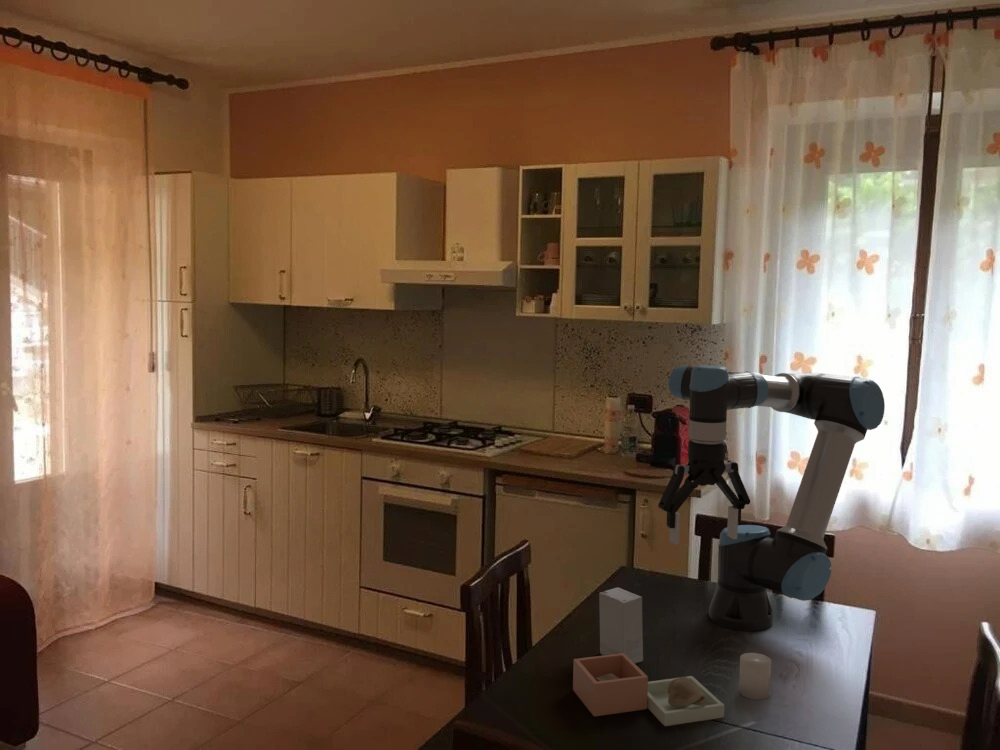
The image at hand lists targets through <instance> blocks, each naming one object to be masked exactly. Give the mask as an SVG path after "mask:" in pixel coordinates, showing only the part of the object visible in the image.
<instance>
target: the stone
mask: <svg viewBox="0 0 1000 750" xmlns="http://www.w3.org/2000/svg"><path fill="white" fill-rule="evenodd" d="M687 677H688V676H681V678H680V677H677V678H678V679H674V680H672V681H671V682H670V683H669V686H668V693H669V698H668V703H669V705H670V706H673V707H687V706H690V705H701V704H704V703H705V702H706V696H705V695H704V693H703V691H702V690H701V689H700V688H699V686H698V685H697V684H696V683H695V682H694V681H692V680H691V679H689V678H687Z"/></svg>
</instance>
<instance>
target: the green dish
mask: <svg viewBox="0 0 1000 750" xmlns="http://www.w3.org/2000/svg"><path fill="white" fill-rule="evenodd" d="M681 677H682V676H681ZM681 677H674V678H665V679H660V680H651V681H648V696H647V709H648V710H649V711H650V712H651V713H652V715H654V717H655V718H656V719H657V720H658V721H659V722H660V723H661V724H662V725H663V726H664V727H669V726H677V725H682V724H687V723H688V724H689V723H690V724H691V723H697V722H702V721H710V720H716V719H722V718H723V719H724V718H725V704H724V703H723V702H722V701H720V700H719V698H717V697H716V695H714V694H712V692H710V690H708V689H707V688H706V687H705V686H704V685H703V684H701V682H699V681H698V680H697V679H696V678H695V677H694V676H693V675H689V676H686V677H687V678H689V679H691V680H692V681H694V682H695V683H696V684H697V685H698V686H699V688H700V689H701V690H702V691H703V693H704V695H705V696H706V702H705V703H704V704H701V705H690V706H687V707H673V706H670V705H669V703H668V698H669V693H668V686H669V683H670V682H671V681H672V680H674V679H678V678H681Z"/></svg>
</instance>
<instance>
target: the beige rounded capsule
mask: <svg viewBox="0 0 1000 750" xmlns="http://www.w3.org/2000/svg"><path fill="white" fill-rule="evenodd" d="M771 672H772V659H771V658H770V657H768V656H766V655H765V654H761V653H756V652H745V653H743V654H741V655H740V657H739V676H738V679H739V680H738V693H739V694H740V695H741V696H742V697H745V698H747V699H752V700H756V701H757V700H758V701H759V700H760V701H761V700H766V699H768V698H770V695H771V675H772V674H771Z"/></svg>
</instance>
